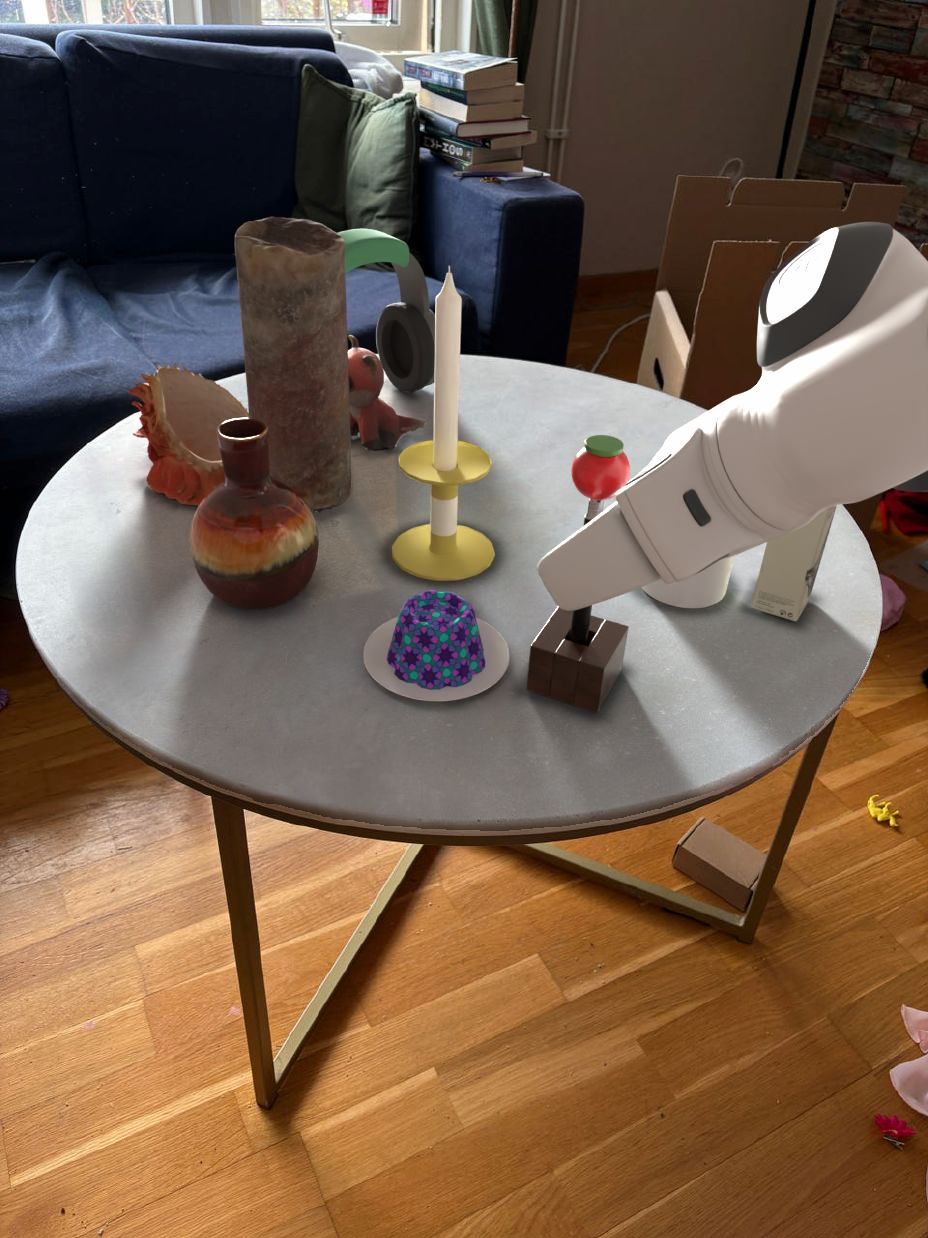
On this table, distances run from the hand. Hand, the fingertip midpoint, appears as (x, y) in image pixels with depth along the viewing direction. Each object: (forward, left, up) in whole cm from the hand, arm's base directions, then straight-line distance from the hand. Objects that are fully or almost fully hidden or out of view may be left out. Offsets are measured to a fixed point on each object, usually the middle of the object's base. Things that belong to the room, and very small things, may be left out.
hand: (581, 556), depth 69 cm
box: (-14, -19, -12) cm, 26 cm away
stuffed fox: (+34, -30, -12) cm, 47 cm away
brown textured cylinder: (+34, -14, -12) cm, 39 cm away
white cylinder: (-5, -18, -12) cm, 22 cm away
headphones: (+42, -40, -12) cm, 59 cm away
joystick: (-1, 0, -9) cm, 9 cm away
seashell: (+47, -15, -12) cm, 51 cm away
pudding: (+10, +3, -12) cm, 16 cm away
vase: (+29, +1, -12) cm, 32 cm away
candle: (+17, -12, -12) cm, 24 cm away
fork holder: (-1, 0, -12) cm, 12 cm away
